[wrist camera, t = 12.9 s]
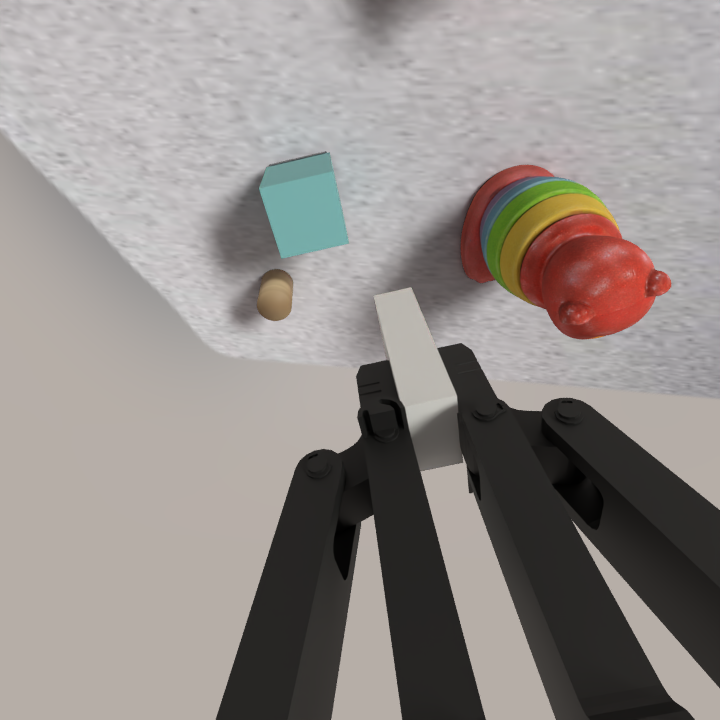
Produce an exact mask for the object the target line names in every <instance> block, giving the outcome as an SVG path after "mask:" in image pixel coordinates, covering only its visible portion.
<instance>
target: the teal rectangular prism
mask: <svg viewBox="0 0 720 720" xmlns="http://www.w3.org/2000/svg"><path fill="white" fill-rule="evenodd" d="M259 190H260V193H261V197H262V200H263V203H264V206H265V209H266V212H267V215H268V218H269V221H270V224H271V228H272V231H273V234H274V237H275V240H276V243H277V246H278V249H279V252H280V256H281V259H282V258H287V257H291V256H296V255H300V254H304V253H309V252H313V251H318V250H322V249H326V248H331V247H335V246H340V245H344V244H348V243H349V241H348V236H347V231H346V226H345V221H344V216H343V212H342V207H341V203H340V198H339V193H338V189H337V184H336V180H335V175H334V171H333V166H332V162H331V157H330V153H325V154H321V155H317V156H313V157H308V158H304V159H300V160H296V161H291V162H287V163H283V164H279V165H274V166H270V167H267V168H266V170H265V173H264V176H263V179H262V182H261V184H260V187H259Z"/></svg>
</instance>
